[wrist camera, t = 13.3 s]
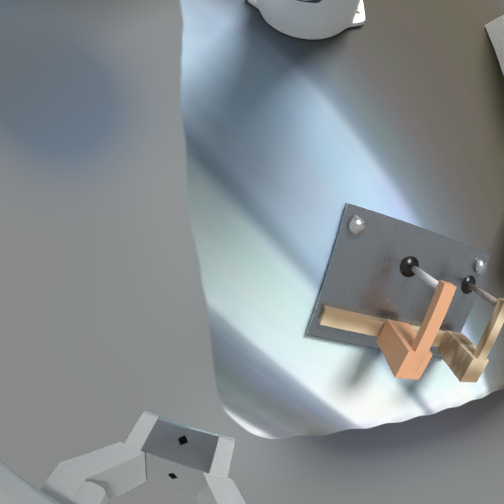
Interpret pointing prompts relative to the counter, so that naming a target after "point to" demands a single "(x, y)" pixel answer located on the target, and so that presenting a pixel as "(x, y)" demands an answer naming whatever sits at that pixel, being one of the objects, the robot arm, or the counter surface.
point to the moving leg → (405, 338)
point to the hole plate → (394, 274)
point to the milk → (497, 38)
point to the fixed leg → (449, 343)
